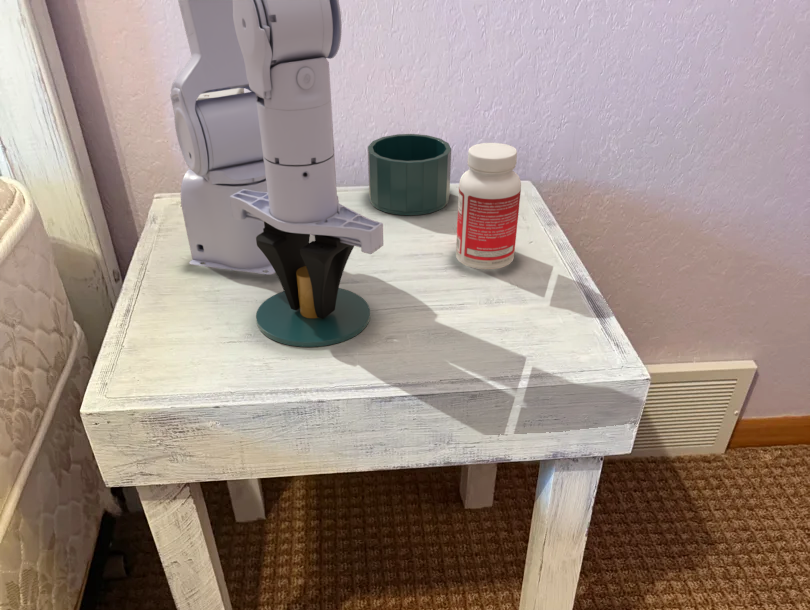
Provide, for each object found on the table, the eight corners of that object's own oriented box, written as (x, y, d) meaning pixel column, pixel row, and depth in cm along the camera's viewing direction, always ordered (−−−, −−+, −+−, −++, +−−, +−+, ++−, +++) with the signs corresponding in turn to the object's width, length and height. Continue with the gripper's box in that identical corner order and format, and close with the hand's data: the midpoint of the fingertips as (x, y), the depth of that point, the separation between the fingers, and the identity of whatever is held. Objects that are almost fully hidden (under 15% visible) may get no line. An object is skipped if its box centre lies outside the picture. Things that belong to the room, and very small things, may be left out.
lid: (239, 343, 69) (230, 291, 65) (282, 290, 76) (276, 240, 73) (350, 360, 67) (347, 307, 64) (383, 303, 74) (382, 253, 71)
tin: (359, 210, 90) (357, 157, 86) (382, 181, 97) (381, 130, 93) (438, 219, 88) (440, 165, 84) (456, 188, 95) (458, 137, 91)
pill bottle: (525, 264, 80) (538, 153, 72) (479, 279, 78) (487, 166, 70) (489, 243, 84) (497, 135, 76) (443, 257, 82) (448, 146, 74)
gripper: (401, 154, 61) (402, 310, 71) (257, 124, 66) (276, 273, 76) (354, 183, 57) (361, 344, 66) (204, 149, 62) (231, 303, 71)
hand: (313, 309), depth 71 cm, fingers closed on lid, 2 cm apart
